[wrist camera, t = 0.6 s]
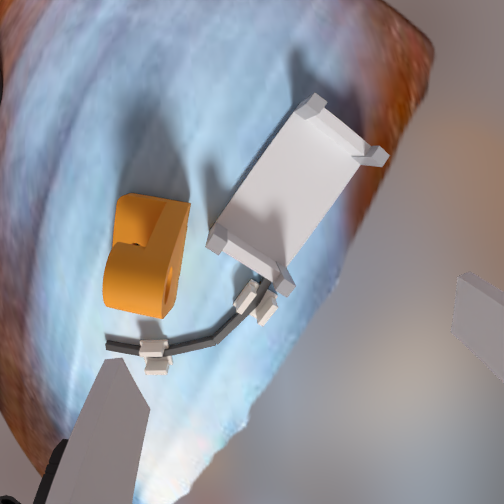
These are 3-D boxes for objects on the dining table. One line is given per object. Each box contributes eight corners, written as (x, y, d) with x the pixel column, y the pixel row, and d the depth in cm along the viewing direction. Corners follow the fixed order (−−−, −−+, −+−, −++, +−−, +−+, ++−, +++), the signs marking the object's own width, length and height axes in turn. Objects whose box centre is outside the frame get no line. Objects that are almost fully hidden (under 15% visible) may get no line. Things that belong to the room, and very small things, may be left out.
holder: (208, 231, 32) (205, 246, 27) (300, 102, 29) (314, 92, 23) (277, 275, 34) (287, 297, 29) (365, 154, 31) (389, 155, 25)
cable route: (104, 341, 35) (98, 352, 33) (268, 270, 34) (272, 279, 31) (131, 376, 37) (127, 388, 35) (289, 315, 36) (294, 326, 33)
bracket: (126, 190, 30) (75, 210, 19) (191, 202, 31) (171, 228, 20) (117, 283, 33) (75, 338, 22) (177, 295, 34) (157, 359, 23)
